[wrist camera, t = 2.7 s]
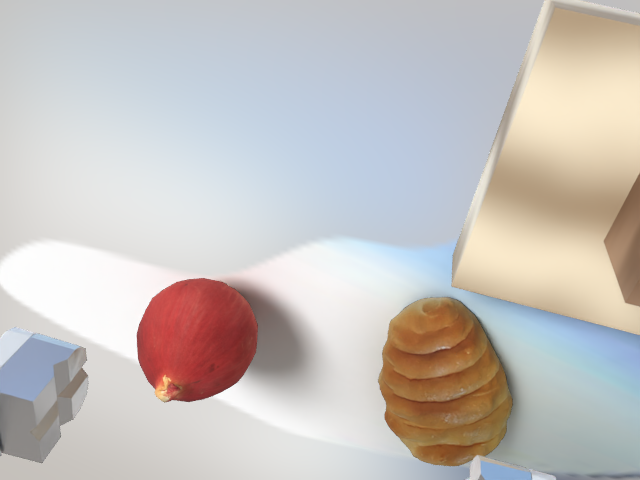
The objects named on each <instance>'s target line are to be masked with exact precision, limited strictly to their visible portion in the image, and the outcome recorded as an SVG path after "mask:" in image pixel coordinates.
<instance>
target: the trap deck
mask: <svg viewBox="0 0 640 480" xmlns="http://www.w3.org/2000/svg"><path fill="white" fill-rule="evenodd" d="M639 173H640V13H637V12H632V11H627V10H623V9H618V8H613V7H609V6H604V5H600V4H595V3H590V2H585V1H581V0H544V3H543V6H542V9H541V11H540V14H539V17H538V20H537V23H536V25H535V28H534V31H533V34H532V37H531V39H530V42H529V45H528V48H527V50H526V53H525V56H524V59H523V61H522V64H521V67H520V70H519V73H518V75H517V78H516V81H515V84H514V87H513V89H512V92H511V95H510V98H509V100H508V103H507V106H506V109H505V112H504V114H503V117H502V120H501V123H500V126H499V128H498V131H497V134H496V137H495V140H494V142H493V145H492V148H491V150H490V153H489V156H488V159H487V161H486V164H485V167H484V170H483V173H482V175H481V178H480V181H479V184H478V187H477V189H476V192H475V195H474V198H473V200H472V203H471V206H470V209H469V212H468V214H467V217H466V220H465V223H464V225H463V228H462V231H461V234H460V237H459V239H458V242H457V245H456V248H455V250H454V253H453V262H452V287H456V288H459V289H463V290H467V291H471V292H475V293H479V294H483V295H487V296H490V297H494V298H498V299H502V300H506V301H510V302H514V303H518V304H521V305H525V306H529V307H533V308H537V309H541V310H545V311H549V312H552V313H556V314H560V315H564V316H568V317H572V318H576V319H580V320H583V321H587V322H591V323H595V324H599V325H603V326H607V327H611V328H614V329H618V330H622V331H626V332H630V333H634V334H638V335H640V307H639V306H635V305H631V304H627V303H625V301H624V298H623V295H622V292H621V290H620V287H619V284H618V281H617V278H616V275H615V272H614V270H613V267H612V264H611V261H610V258H609V255H608V253H607V250H606V247H605V244H604V239H605V237H606V236H607V234H608V232H609V230H610V228H611V226H612V224H613V222H614V220H615V218H616V217H617V215H618V213H619V211H620V209H621V207H622V205H623V203H624V201H625V200H626V198H627V196H628V194H629V192H630V190H631V188H632V186H633V184H634V182H635V181H636V179H637V177H638V175H639Z"/></svg>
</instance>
